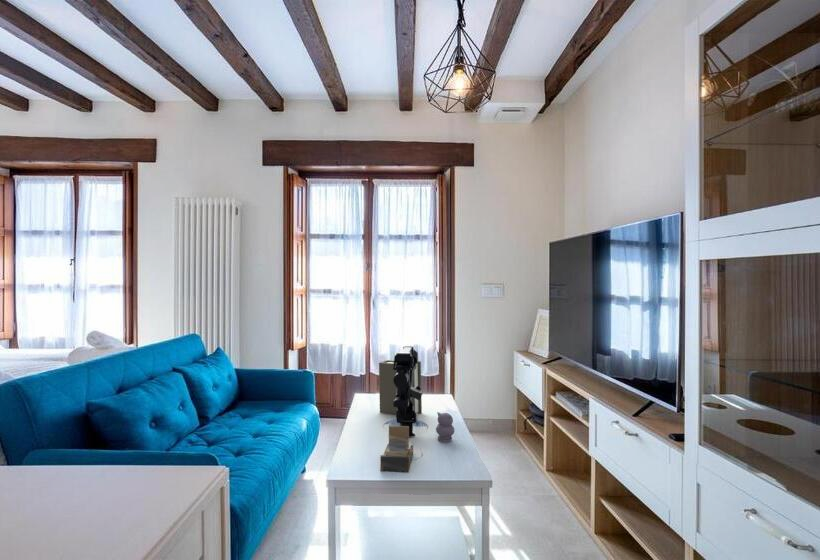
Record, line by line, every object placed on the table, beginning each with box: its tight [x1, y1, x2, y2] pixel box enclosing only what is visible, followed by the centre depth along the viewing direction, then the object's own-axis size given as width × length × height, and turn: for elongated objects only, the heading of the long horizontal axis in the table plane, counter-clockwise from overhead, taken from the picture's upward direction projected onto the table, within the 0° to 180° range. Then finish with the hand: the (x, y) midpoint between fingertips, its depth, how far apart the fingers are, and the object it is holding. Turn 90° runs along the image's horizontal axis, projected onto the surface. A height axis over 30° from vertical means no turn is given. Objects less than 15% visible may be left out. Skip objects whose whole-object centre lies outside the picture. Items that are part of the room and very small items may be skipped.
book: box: [378, 359, 423, 415], centre depth 223 cm, size 22×9×28 cm, turn 64°
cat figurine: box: [435, 411, 455, 444], centre depth 184 cm, size 8×8×12 cm
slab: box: [387, 425, 410, 457], centre depth 163 cm, size 6×8×10 cm
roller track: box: [379, 443, 414, 474], centre depth 162 cm, size 17×11×6 cm, turn 174°
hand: (403, 417), depth 178 cm, fingers closed
